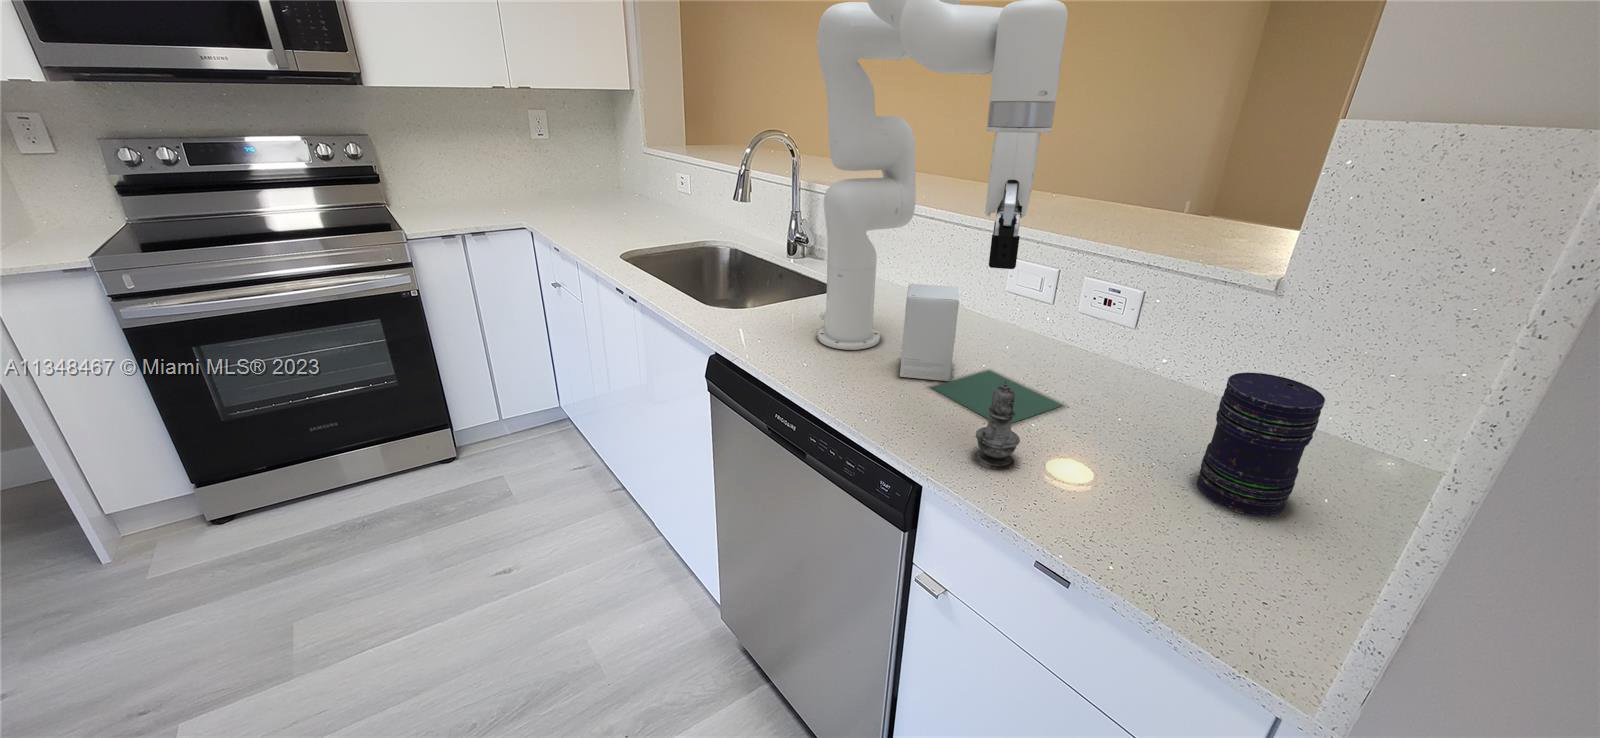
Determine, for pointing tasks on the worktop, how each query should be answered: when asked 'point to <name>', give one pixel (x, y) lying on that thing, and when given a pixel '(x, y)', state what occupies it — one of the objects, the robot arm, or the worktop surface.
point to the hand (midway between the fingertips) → (1002, 259)
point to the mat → (980, 390)
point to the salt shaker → (998, 431)
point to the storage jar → (1258, 443)
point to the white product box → (929, 331)
